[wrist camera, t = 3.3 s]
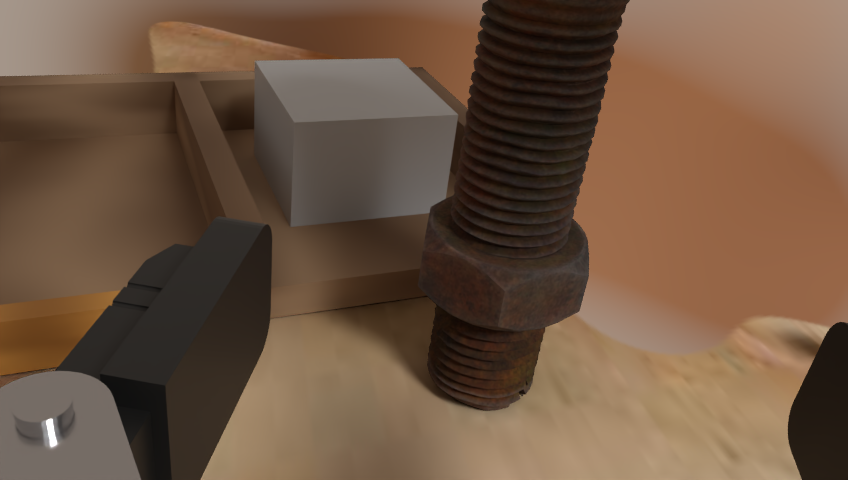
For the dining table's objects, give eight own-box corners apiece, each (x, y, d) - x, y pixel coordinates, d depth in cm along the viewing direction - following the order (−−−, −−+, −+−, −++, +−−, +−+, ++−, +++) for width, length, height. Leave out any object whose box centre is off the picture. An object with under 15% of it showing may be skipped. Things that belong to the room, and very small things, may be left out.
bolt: (424, 464, 21) (532, -172, 13) (358, 347, 25) (411, -199, 17) (603, 417, 23) (783, -144, 15) (517, 317, 27) (627, -173, 19)
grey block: (389, 145, 35) (398, 58, 33) (443, 211, 30) (458, 114, 28) (254, 154, 32) (254, 60, 30) (290, 227, 28) (294, 122, 26)
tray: (413, 135, 39) (422, 67, 37) (555, 290, 29) (576, 206, 27) (-105, 164, 31) (-127, 79, 29) (-178, 402, 20) (-219, 290, 18)
